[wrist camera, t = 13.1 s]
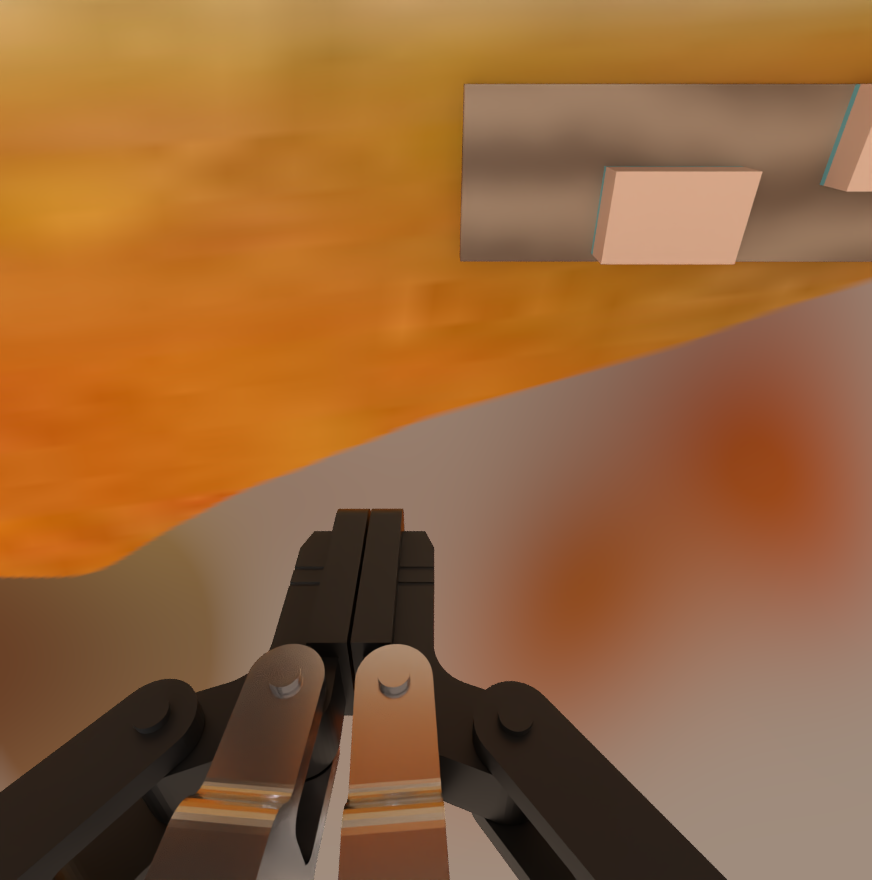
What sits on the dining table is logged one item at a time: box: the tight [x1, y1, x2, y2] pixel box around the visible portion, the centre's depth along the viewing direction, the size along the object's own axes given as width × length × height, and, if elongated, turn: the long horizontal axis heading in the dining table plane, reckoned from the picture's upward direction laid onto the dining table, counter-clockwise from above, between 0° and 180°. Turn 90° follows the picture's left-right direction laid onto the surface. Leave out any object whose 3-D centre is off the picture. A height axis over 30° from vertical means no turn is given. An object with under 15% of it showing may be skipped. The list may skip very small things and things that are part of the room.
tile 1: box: [591, 166, 762, 264], centre depth 32 cm, size 5×2×8 cm
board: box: [460, 84, 872, 262], centre depth 32 cm, size 10×28×1 cm, turn 90°
